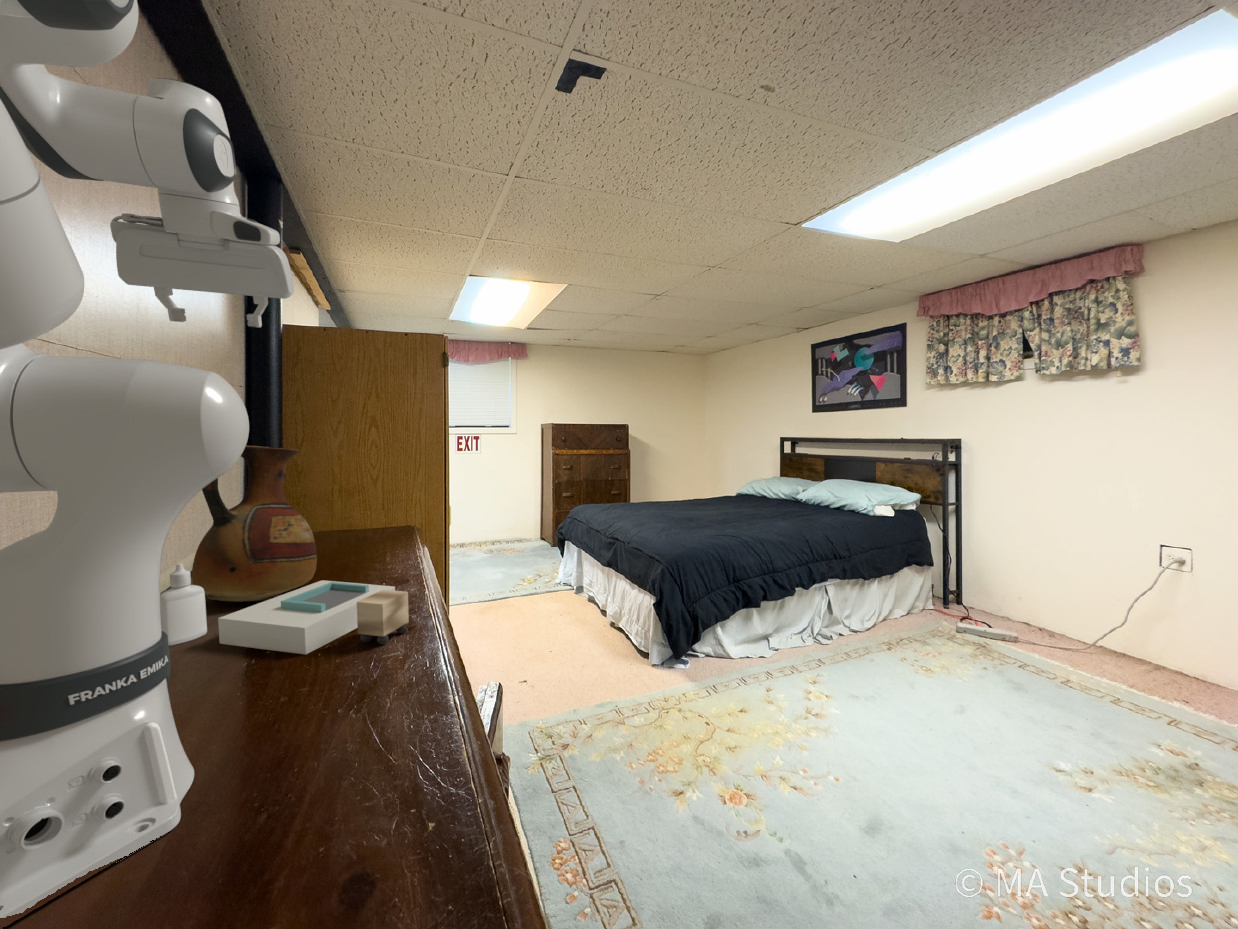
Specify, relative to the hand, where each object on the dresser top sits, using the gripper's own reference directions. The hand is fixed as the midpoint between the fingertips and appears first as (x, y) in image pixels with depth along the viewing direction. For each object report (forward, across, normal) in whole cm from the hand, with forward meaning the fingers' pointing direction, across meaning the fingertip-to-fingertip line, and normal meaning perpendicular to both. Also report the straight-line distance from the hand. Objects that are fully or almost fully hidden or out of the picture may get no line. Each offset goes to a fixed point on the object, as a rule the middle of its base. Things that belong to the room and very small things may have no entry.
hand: (217, 324), depth 77 cm
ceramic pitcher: (+54, -2, +9) cm, 54 cm away
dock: (+47, +11, -12) cm, 50 cm away
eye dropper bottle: (+48, -7, -11) cm, 49 cm away
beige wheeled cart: (+44, +22, -21) cm, 54 cm away
